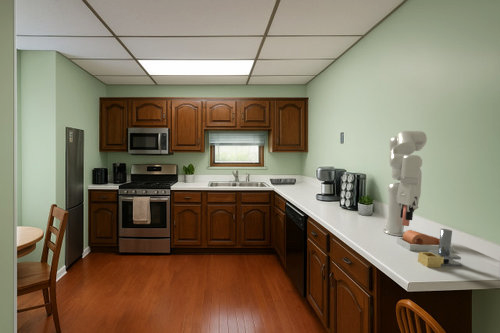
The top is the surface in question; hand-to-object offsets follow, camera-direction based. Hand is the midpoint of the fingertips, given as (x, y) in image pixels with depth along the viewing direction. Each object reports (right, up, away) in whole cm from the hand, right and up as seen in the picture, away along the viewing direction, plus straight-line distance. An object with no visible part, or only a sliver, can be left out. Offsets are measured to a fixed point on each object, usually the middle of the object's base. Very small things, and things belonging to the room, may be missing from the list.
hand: (406, 218), depth 135 cm
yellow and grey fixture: (+12, -19, -5) cm, 23 cm away
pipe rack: (+18, -18, +16) cm, 30 cm away
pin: (0, -3, 0) cm, 3 cm away
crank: (+19, -19, +17) cm, 32 cm away
